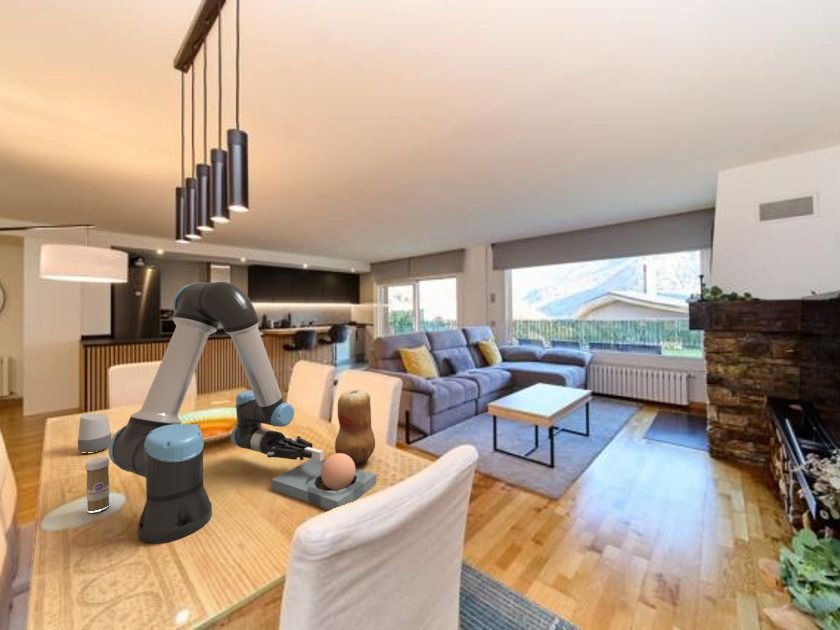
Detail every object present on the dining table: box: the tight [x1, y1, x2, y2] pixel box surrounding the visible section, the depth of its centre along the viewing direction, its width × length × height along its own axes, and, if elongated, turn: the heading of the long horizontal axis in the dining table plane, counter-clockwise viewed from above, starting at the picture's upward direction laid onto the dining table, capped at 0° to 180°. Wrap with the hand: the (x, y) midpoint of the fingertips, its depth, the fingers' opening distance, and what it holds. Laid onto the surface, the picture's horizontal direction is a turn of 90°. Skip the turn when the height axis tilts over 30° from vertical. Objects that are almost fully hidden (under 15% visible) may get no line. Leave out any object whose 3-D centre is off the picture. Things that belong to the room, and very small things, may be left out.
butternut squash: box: [334, 388, 376, 466], centre depth 121 cm, size 14×13×25 cm
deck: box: [271, 459, 378, 511], centre depth 105 cm, size 26×17×3 cm, turn 62°
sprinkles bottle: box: [85, 456, 110, 511], centre depth 93 cm, size 5×5×13 cm
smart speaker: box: [77, 413, 112, 453], centre depth 132 cm, size 10×9×14 cm
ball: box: [321, 453, 356, 491], centre depth 104 cm, size 10×10×10 cm
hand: (321, 456), depth 105 cm, fingers closed
